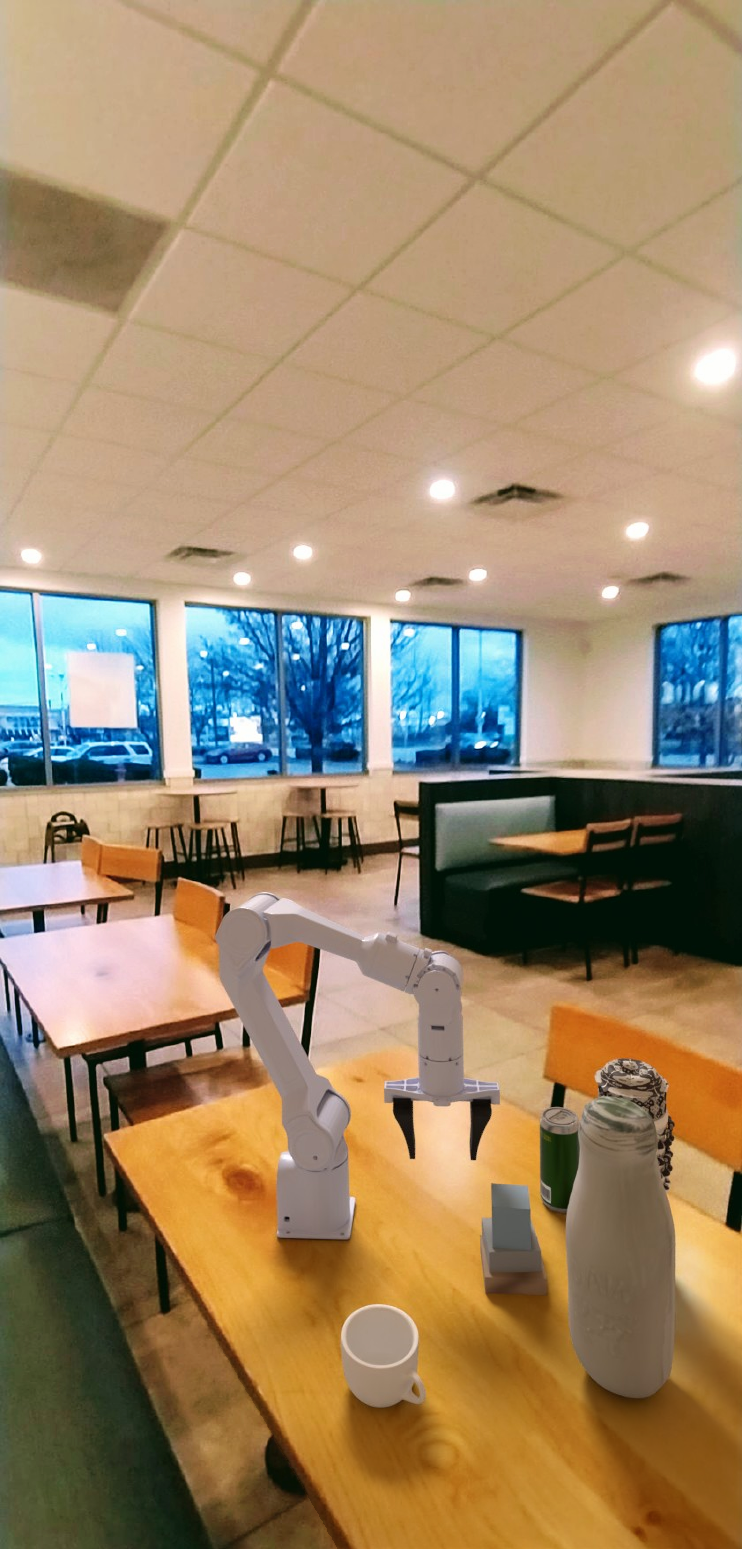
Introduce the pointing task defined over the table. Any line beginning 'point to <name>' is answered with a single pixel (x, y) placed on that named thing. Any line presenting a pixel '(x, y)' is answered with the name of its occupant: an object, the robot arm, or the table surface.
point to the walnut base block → (513, 1279)
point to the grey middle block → (510, 1253)
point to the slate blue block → (511, 1217)
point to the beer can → (558, 1156)
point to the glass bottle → (621, 1252)
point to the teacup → (381, 1356)
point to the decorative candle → (642, 1101)
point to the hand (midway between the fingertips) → (442, 1155)
